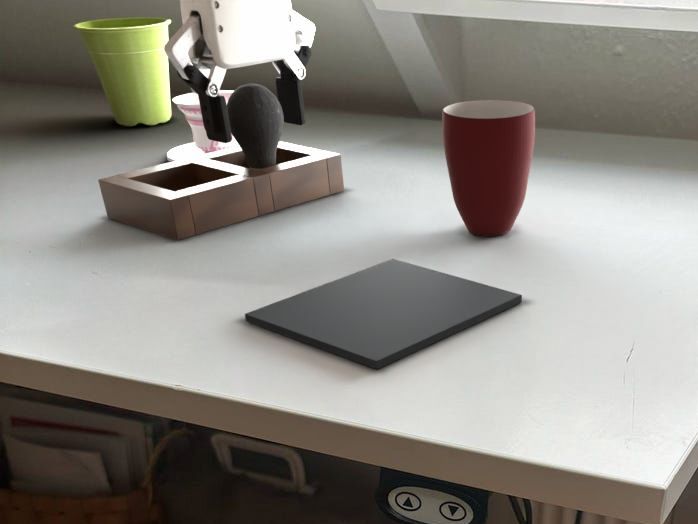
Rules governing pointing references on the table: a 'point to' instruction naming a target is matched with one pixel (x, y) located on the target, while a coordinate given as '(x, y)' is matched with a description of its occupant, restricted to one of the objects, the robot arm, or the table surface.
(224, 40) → the robot arm
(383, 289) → the mat
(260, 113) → the light bulb
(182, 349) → the table surface
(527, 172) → the mug
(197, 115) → the teacup
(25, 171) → the table surface
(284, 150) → the wooden divided tray
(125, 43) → the plant pot
